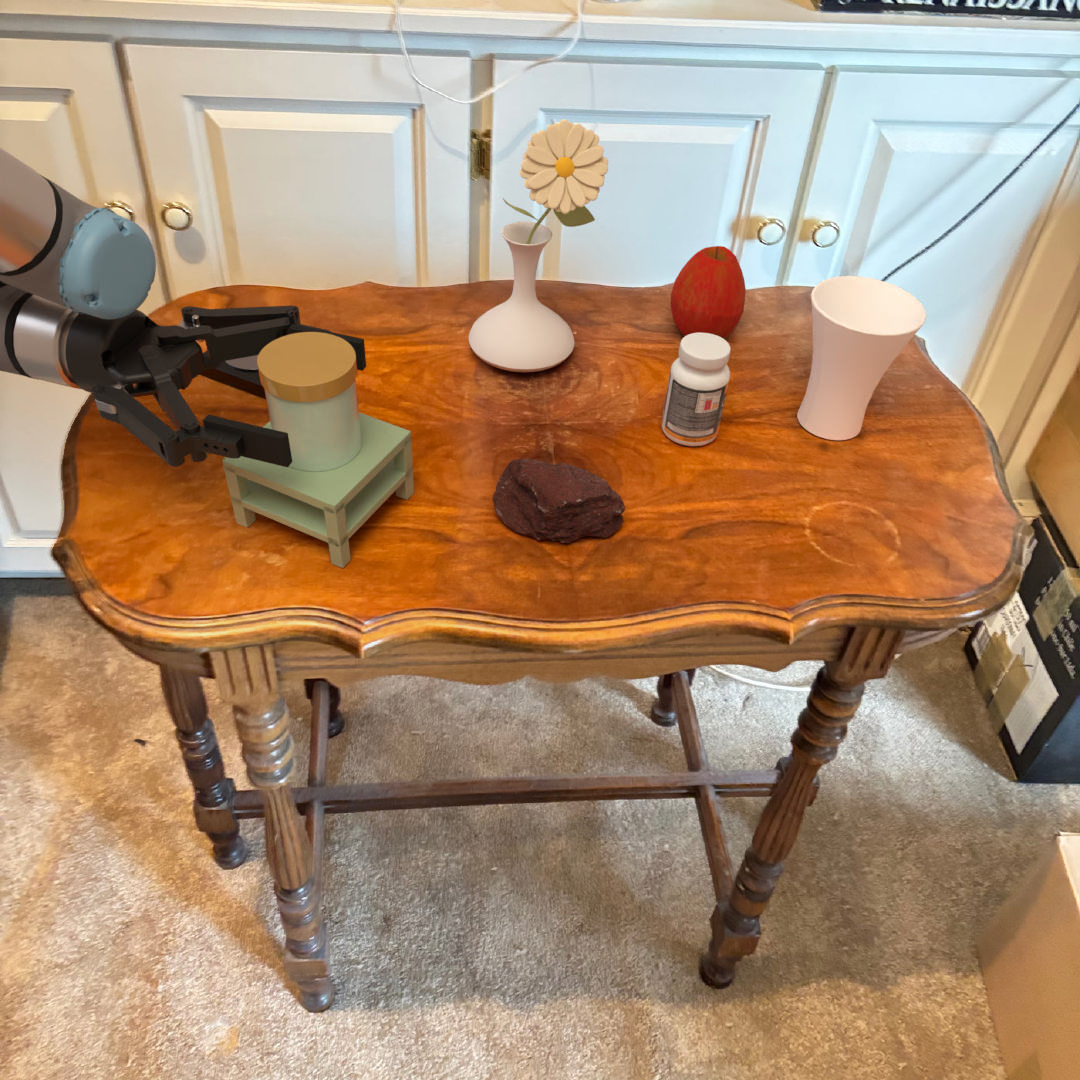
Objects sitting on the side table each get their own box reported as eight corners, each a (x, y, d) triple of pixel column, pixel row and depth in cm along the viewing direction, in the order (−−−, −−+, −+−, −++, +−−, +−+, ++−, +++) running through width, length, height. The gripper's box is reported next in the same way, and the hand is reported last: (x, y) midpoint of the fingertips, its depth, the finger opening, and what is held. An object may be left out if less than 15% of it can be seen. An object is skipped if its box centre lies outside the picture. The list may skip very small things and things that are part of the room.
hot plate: (195, 373, 96) (192, 358, 94) (253, 332, 102) (250, 318, 100) (266, 400, 93) (264, 384, 92) (321, 356, 99) (319, 342, 98)
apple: (690, 307, 111) (706, 220, 103) (751, 333, 107) (772, 246, 100) (651, 334, 106) (665, 245, 98) (713, 362, 102) (733, 272, 95)
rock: (612, 561, 83) (596, 494, 88) (640, 515, 79) (621, 448, 84) (496, 551, 80) (486, 481, 85) (518, 502, 75) (506, 432, 80)
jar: (254, 455, 76) (236, 366, 70) (309, 408, 81) (297, 322, 75) (329, 485, 74) (317, 396, 68) (381, 435, 79) (374, 348, 73)
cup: (902, 437, 94) (951, 319, 85) (823, 464, 91) (864, 344, 81) (833, 382, 101) (871, 267, 92) (756, 405, 97) (788, 287, 88)
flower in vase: (455, 371, 98) (453, 129, 81) (484, 317, 106) (488, 86, 89) (576, 393, 97) (601, 151, 79) (596, 337, 105) (623, 105, 88)
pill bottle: (727, 442, 92) (748, 356, 85) (676, 453, 91) (693, 367, 84) (700, 409, 96) (718, 324, 89) (650, 419, 94) (664, 334, 87)
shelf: (236, 523, 80) (221, 460, 75) (314, 453, 88) (305, 391, 83) (342, 568, 77) (334, 506, 72) (414, 492, 84) (411, 430, 80)
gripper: (183, 313, 89) (392, 358, 85) (5, 472, 71) (258, 537, 68) (166, 238, 84) (387, 283, 80) (-31, 391, 66) (240, 456, 63)
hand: (328, 399), depth 74 cm, fingers open, 13 cm apart
